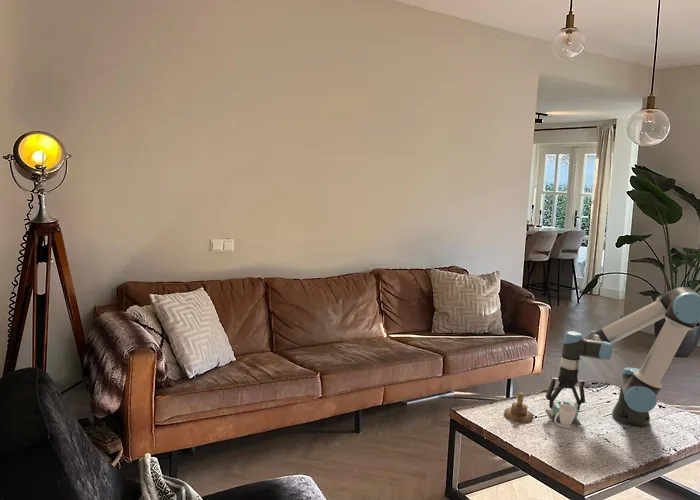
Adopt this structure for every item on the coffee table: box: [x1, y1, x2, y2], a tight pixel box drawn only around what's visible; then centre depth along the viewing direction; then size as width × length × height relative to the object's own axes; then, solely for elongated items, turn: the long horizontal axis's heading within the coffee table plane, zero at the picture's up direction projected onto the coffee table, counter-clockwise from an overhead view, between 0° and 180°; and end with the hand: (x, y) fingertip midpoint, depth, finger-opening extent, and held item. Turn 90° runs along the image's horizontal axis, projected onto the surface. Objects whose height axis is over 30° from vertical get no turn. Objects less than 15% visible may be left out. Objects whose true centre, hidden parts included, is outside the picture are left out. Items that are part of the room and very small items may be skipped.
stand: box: [503, 392, 534, 423], centre depth 256 cm, size 12×12×10 cm
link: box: [554, 399, 579, 419], centre depth 258 cm, size 9×9×4 cm
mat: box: [545, 409, 582, 426], centre depth 258 cm, size 12×12×1 cm
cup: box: [554, 403, 577, 428], centre depth 249 cm, size 7×10×8 cm
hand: (563, 416), depth 258 cm, fingers closed on link, 9 cm apart
